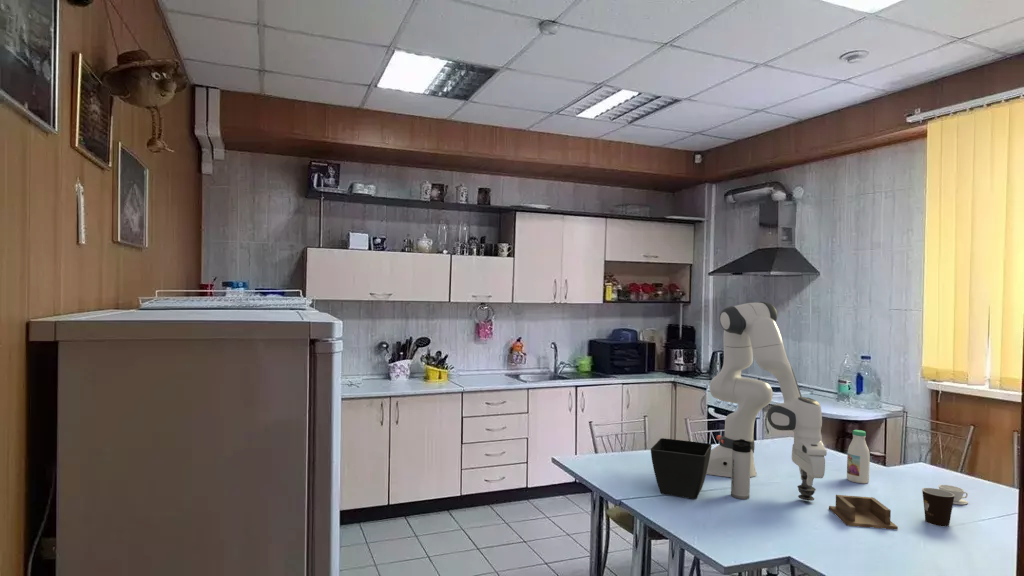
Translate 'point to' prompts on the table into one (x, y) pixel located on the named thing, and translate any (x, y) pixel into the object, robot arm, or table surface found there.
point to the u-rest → (862, 512)
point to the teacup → (955, 493)
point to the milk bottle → (858, 458)
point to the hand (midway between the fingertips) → (806, 482)
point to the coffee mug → (937, 506)
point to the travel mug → (741, 469)
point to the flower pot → (680, 466)
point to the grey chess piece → (805, 489)
